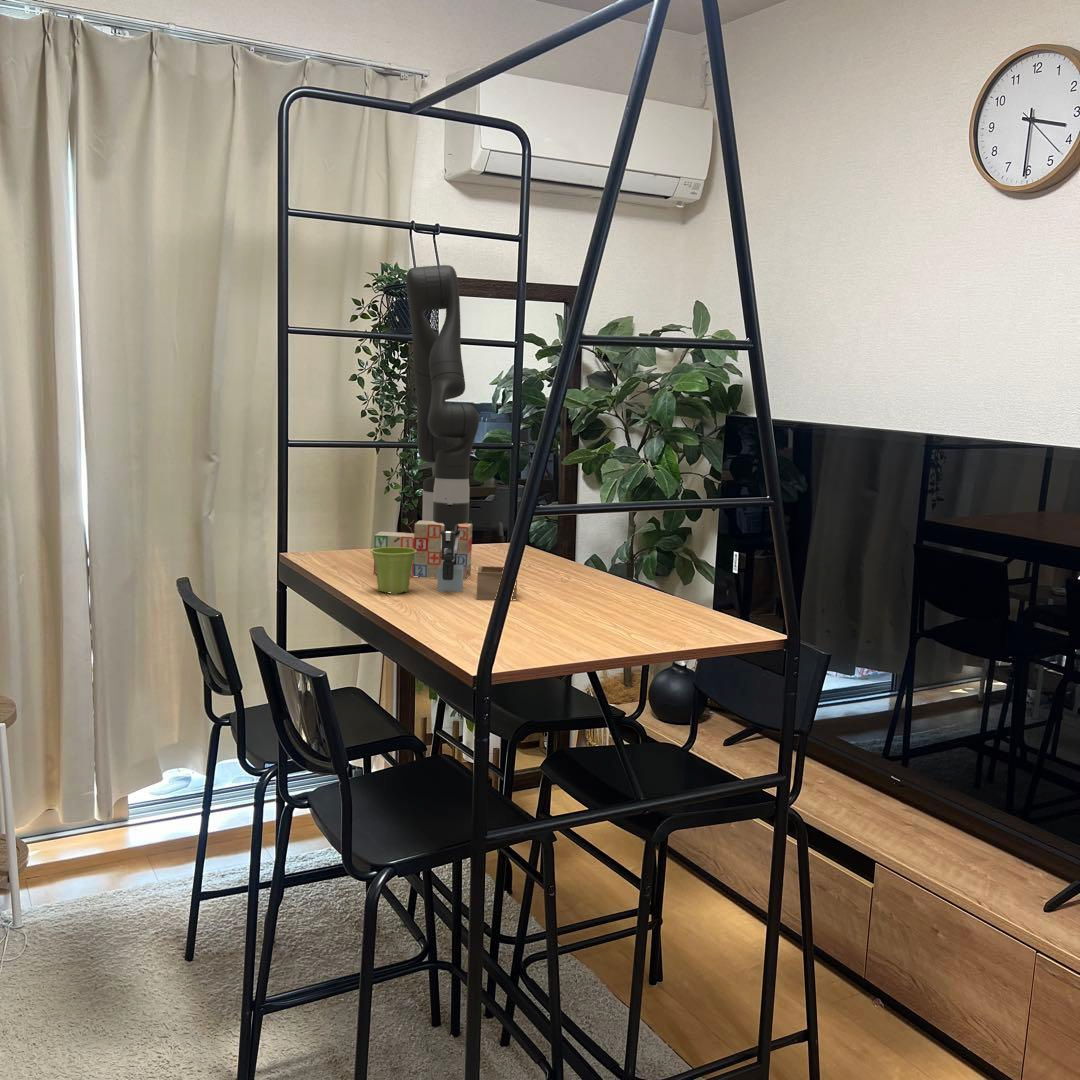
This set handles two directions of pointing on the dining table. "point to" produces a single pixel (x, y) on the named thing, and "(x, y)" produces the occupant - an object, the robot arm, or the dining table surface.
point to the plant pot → (393, 568)
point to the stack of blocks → (428, 547)
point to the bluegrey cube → (453, 584)
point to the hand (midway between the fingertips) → (449, 576)
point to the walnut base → (490, 582)
